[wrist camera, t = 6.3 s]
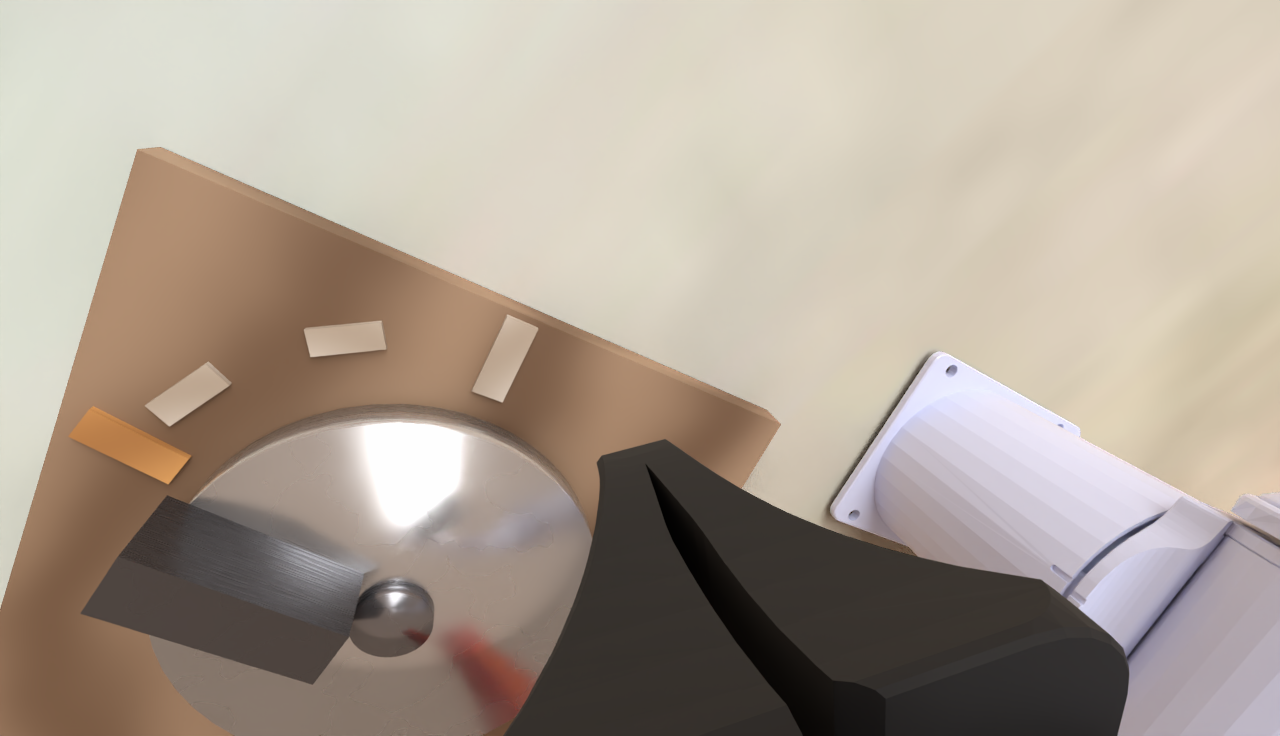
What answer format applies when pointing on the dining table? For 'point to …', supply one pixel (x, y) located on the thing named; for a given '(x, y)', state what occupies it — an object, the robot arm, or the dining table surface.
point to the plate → (283, 408)
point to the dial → (359, 577)
